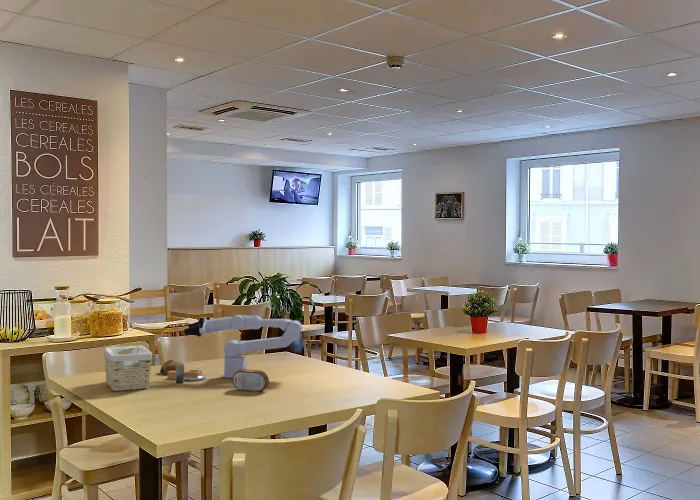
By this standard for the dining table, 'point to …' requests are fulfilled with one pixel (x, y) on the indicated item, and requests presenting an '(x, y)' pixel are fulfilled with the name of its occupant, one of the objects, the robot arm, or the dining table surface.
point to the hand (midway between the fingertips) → (186, 329)
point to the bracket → (186, 374)
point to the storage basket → (127, 367)
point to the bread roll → (170, 366)
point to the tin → (250, 380)
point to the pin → (180, 374)
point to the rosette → (194, 378)
